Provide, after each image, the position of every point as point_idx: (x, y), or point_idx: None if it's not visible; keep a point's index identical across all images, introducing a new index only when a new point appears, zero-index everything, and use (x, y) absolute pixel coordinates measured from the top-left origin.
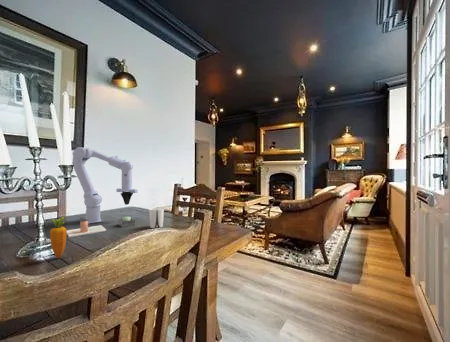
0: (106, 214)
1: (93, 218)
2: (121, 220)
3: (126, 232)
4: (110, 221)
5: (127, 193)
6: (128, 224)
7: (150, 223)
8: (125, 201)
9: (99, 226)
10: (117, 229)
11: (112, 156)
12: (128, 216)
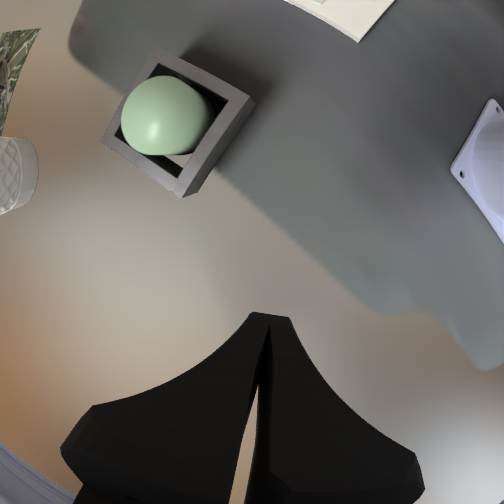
0: (497, 356)
1: (497, 128)
2: (190, 77)
3: (93, 16)
4: (400, 193)
5: (62, 447)
6: None
7: (13, 141)
8: (255, 334)
9: (340, 10)
10: (173, 19)
11: None
12: (159, 152)
